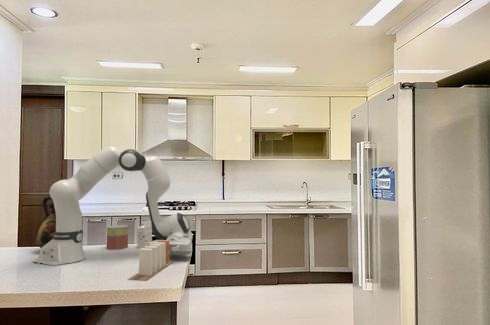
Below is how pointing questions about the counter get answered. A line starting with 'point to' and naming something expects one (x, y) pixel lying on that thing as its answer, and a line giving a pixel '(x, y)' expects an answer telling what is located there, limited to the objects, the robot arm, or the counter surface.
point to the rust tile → (166, 250)
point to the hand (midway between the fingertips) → (162, 249)
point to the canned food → (117, 237)
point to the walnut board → (147, 277)
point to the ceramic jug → (47, 224)
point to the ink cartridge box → (144, 234)
